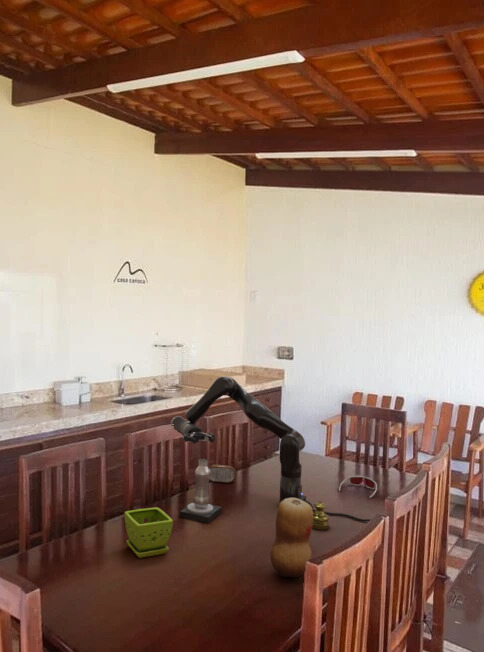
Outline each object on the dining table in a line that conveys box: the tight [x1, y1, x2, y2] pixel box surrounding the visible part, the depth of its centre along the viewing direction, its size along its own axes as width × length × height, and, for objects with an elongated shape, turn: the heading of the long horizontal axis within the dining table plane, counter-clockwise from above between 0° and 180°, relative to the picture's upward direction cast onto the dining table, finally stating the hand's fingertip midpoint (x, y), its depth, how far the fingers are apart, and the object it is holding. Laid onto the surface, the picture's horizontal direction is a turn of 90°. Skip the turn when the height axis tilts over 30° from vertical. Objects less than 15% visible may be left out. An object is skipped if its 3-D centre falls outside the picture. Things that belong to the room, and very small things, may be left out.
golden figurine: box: [312, 501, 330, 531], centre depth 220 cm, size 7×7×10 cm
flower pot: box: [124, 506, 174, 559], centre depth 192 cm, size 14×14×13 cm
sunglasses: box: [338, 475, 378, 499], centre depth 268 cm, size 17×17×5 cm
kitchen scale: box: [179, 501, 223, 524], centre depth 228 cm, size 13×14×3 cm
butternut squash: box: [269, 498, 314, 578], centre depth 178 cm, size 14×13×25 cm
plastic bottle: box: [193, 458, 210, 508], centre depth 228 cm, size 6×7×20 cm
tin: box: [208, 464, 237, 484], centre depth 272 cm, size 15×3×8 cm, turn 84°
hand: (203, 440), depth 239 cm, fingers open, 8 cm apart
